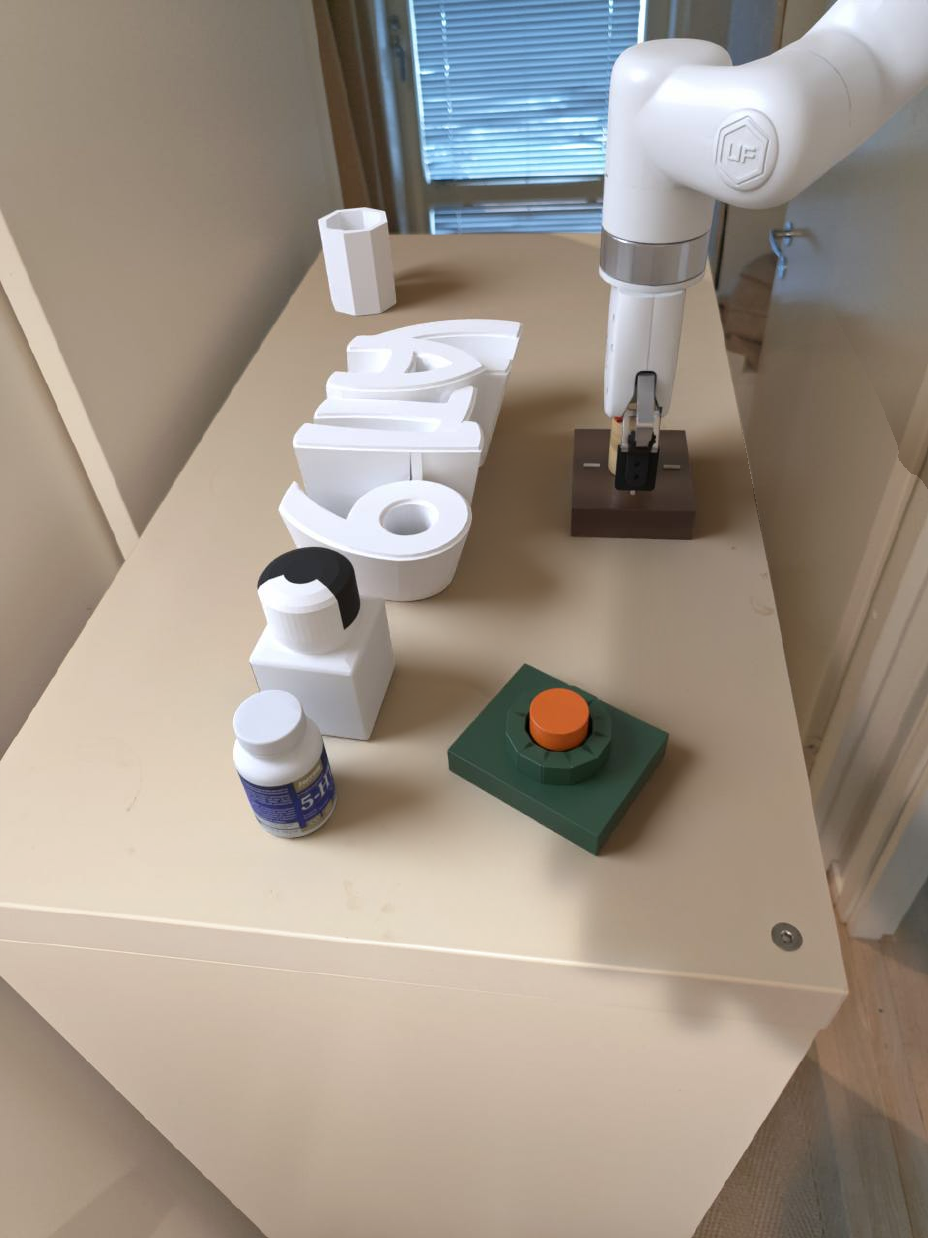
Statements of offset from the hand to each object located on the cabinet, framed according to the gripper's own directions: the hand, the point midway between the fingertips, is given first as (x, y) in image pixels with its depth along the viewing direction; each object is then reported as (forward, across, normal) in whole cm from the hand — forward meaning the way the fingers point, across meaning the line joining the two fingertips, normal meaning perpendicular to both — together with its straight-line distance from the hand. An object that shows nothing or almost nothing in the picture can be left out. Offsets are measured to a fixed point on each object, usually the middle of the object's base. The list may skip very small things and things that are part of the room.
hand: (633, 454), depth 72 cm
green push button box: (+4, +29, -5) cm, 30 cm away
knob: (+1, 0, 0) cm, 1 cm away
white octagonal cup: (+4, -41, -32) cm, 52 cm away
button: (+1, +29, -5) cm, 30 cm away
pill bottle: (+4, +34, -22) cm, 40 cm away
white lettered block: (+4, +1, -19) cm, 19 cm away
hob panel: (+4, 0, 0) cm, 4 cm away
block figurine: (+4, +25, -21) cm, 33 cm away
